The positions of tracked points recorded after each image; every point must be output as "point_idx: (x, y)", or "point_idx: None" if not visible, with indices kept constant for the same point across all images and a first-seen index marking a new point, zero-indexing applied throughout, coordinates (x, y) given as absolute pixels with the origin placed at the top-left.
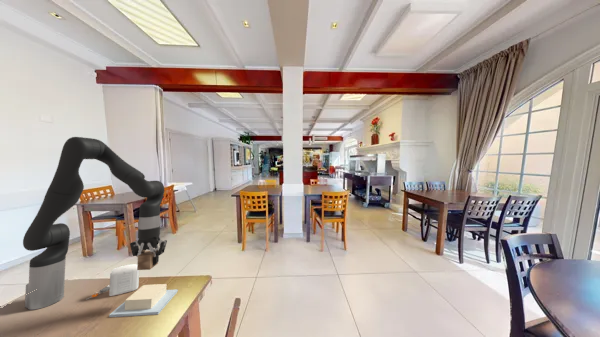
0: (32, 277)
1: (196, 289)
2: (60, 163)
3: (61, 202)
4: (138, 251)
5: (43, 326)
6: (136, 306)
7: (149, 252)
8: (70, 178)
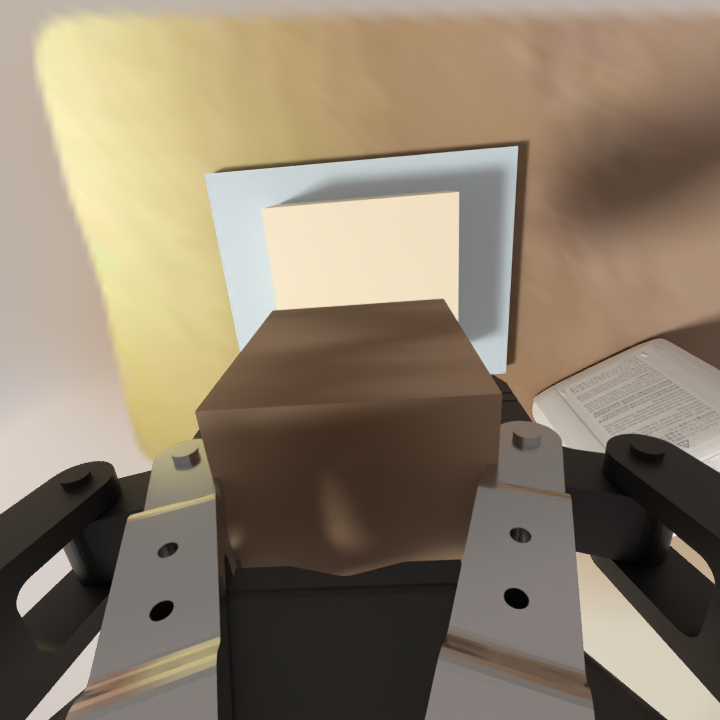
0: None
1: (146, 400)
2: None
3: None
4: (561, 499)
5: None
6: (371, 197)
7: (358, 545)
8: None
